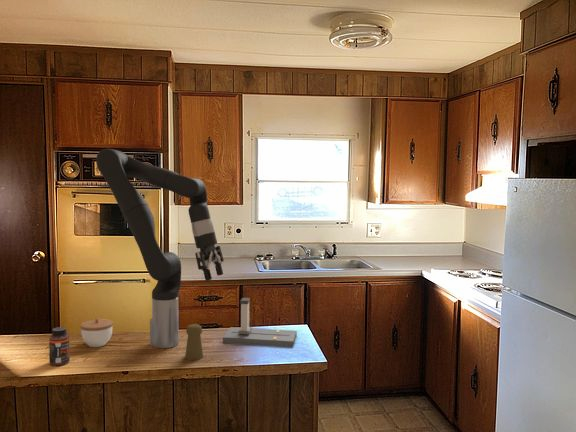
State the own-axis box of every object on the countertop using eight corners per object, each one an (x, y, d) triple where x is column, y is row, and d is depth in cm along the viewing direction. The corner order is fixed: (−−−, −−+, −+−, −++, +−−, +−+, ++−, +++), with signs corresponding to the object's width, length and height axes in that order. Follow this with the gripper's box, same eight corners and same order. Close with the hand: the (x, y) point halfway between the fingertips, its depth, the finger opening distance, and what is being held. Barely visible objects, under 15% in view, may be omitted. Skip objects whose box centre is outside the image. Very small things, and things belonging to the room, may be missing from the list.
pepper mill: (199, 361, 158) (199, 328, 157) (182, 359, 160) (182, 327, 159) (206, 354, 164) (206, 323, 163) (189, 352, 165) (189, 321, 165)
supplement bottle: (62, 367, 152) (62, 332, 151) (45, 365, 152) (44, 331, 151) (73, 360, 157) (72, 326, 157) (56, 358, 158) (55, 325, 157)
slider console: (222, 342, 176) (222, 336, 176) (230, 332, 188) (230, 326, 188) (293, 346, 173) (293, 340, 173) (296, 335, 185) (296, 330, 185)
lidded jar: (114, 338, 179) (113, 313, 178) (111, 348, 169) (111, 322, 168) (83, 340, 176) (82, 315, 175) (78, 350, 166) (78, 324, 165)
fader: (238, 333, 179) (238, 300, 178) (241, 329, 184) (241, 297, 183) (248, 334, 178) (249, 301, 177) (251, 330, 183) (251, 297, 182)
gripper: (204, 232, 178) (215, 275, 178) (184, 238, 164) (195, 283, 164) (222, 228, 175) (232, 271, 175) (202, 233, 162) (214, 280, 162)
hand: (214, 277), depth 170 cm, fingers open, 8 cm apart
